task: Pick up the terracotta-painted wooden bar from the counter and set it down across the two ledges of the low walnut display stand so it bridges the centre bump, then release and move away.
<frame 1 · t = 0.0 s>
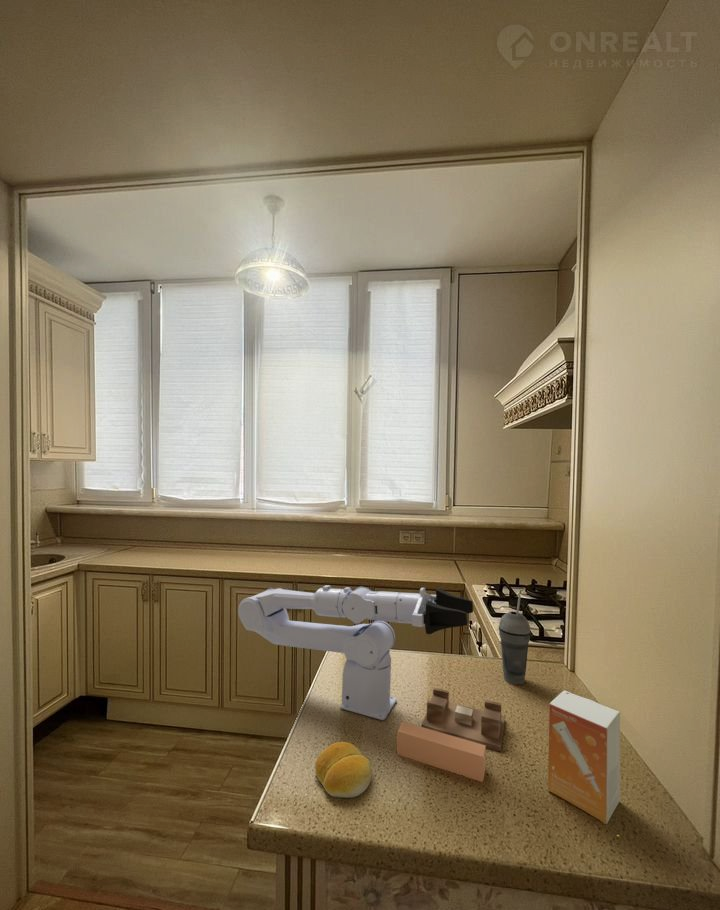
hand: (469, 612, 75), 22 cm above the counter, tool horizontal, fingers open, 7 cm apart
beverage cup: (514, 680, 94), on the counter
small box: (583, 798, 60), on the counter
bar: (440, 763, 66), on the counter
bread roll: (342, 779, 62), on the counter
stand: (463, 724, 77), on the counter
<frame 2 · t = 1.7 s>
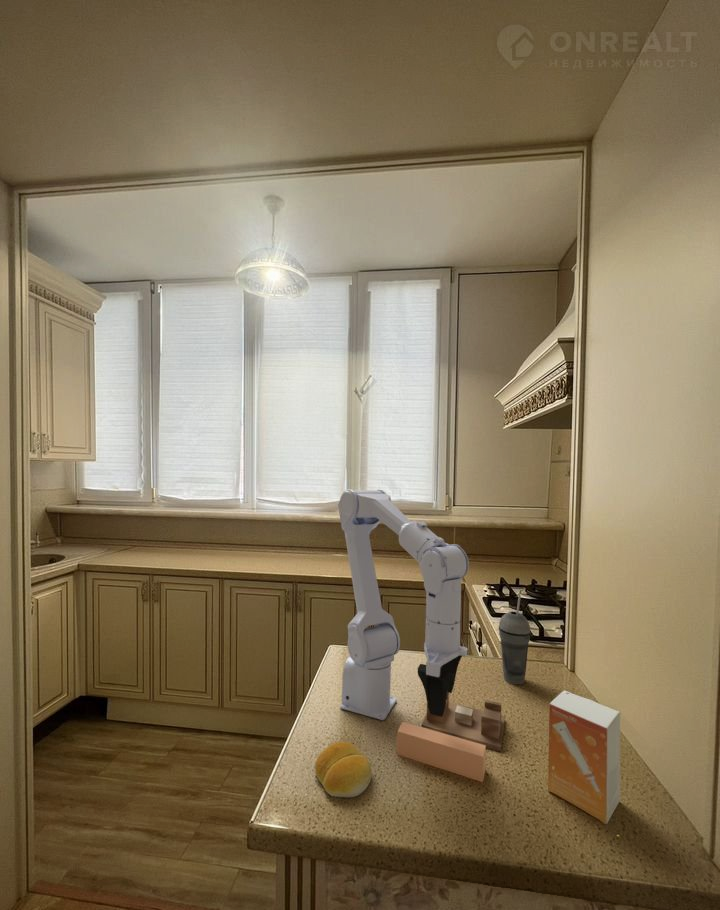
hand: (441, 702, 67), 10 cm above the counter, tool pointing down, fingers open, 7 cm apart
nothing on the counter moved.
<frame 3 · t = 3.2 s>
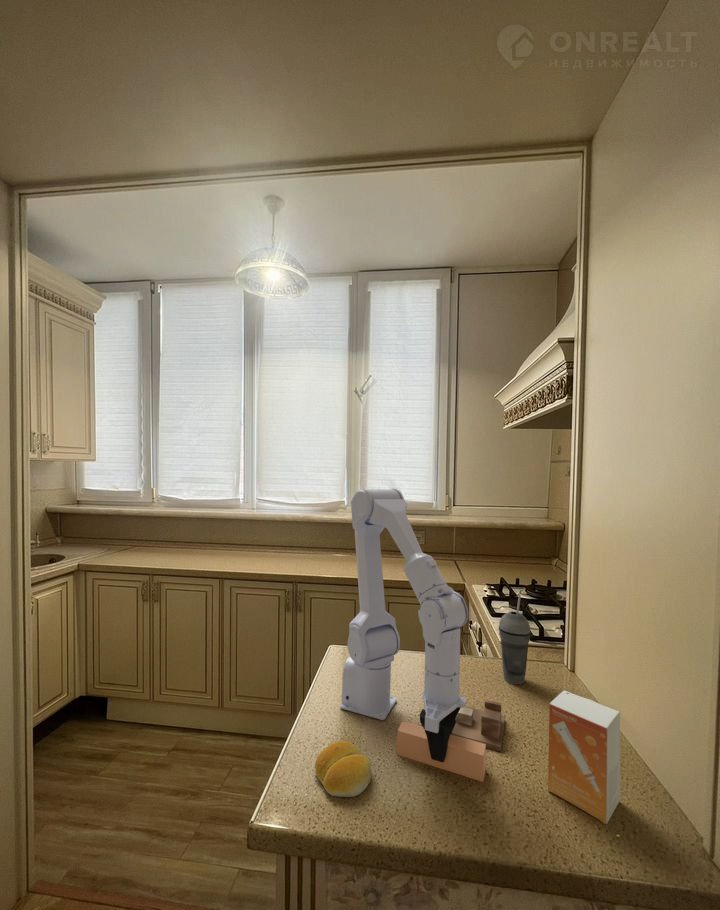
hand: (440, 752, 66), 1 cm above the counter, tool pointing down, fingers closed on bar, 3 cm apart
bar: (440, 762, 66), on the counter, touching gripper
everything else where it was.
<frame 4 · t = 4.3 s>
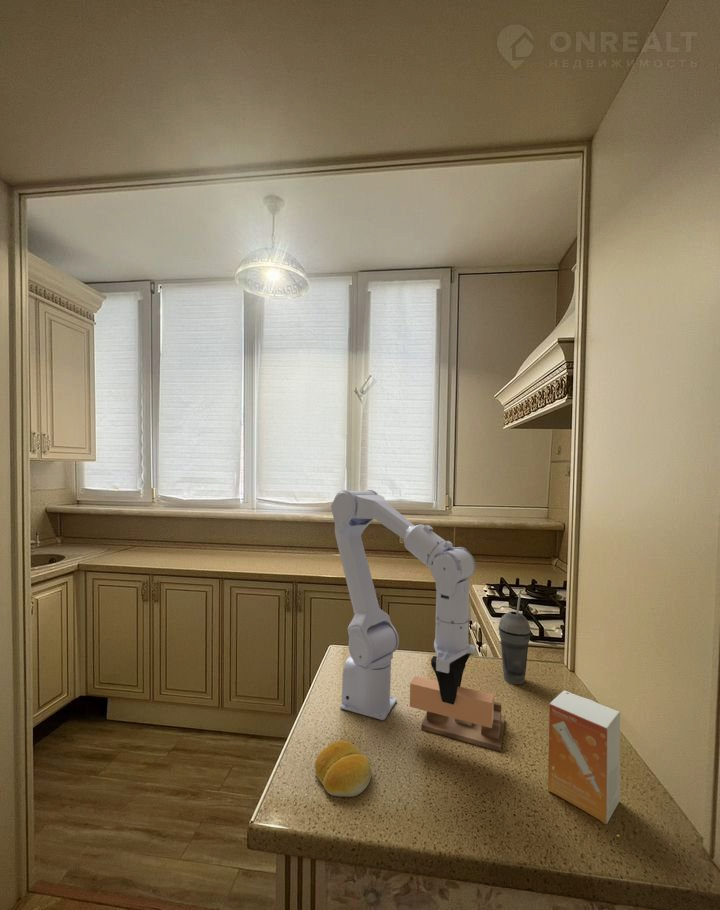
hand: (450, 697, 71), 8 cm above the counter, tool pointing down, fingers closed on bar, 3 cm apart
bar: (450, 712, 70), point 6 cm above the counter, touching gripper
everything else where it was.
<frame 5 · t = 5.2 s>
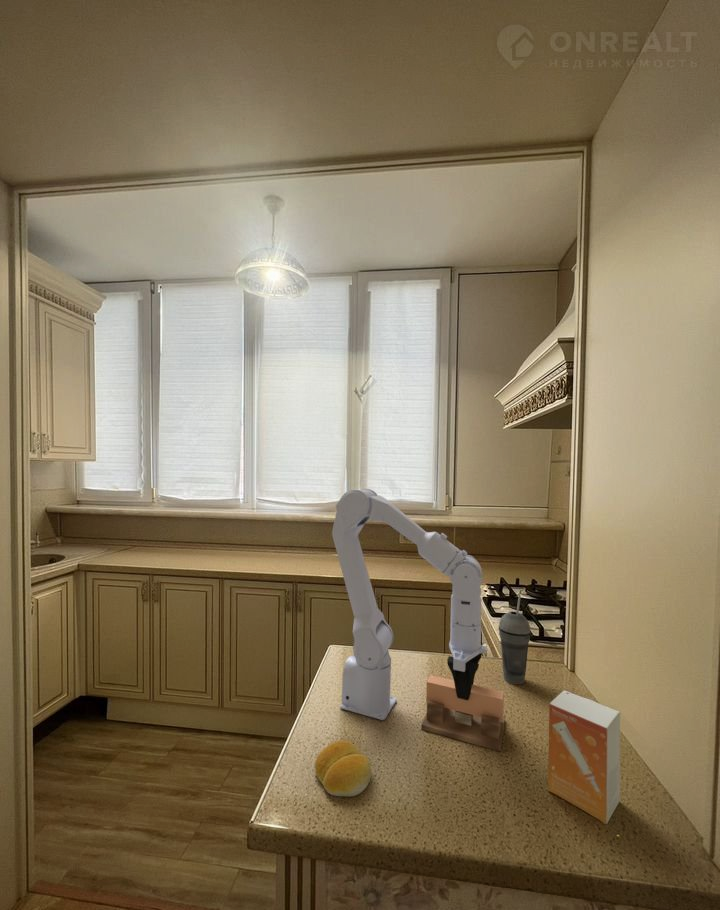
hand: (464, 693, 77), 6 cm above the counter, tool pointing down, fingers closed on bar, 3 cm apart
bar: (464, 708, 77), point 3 cm above the counter, touching gripper, stand
everything else where it was.
when the fingers open (6 cm above the counter, at t = 5.5 s): bar stays where it is, resting on stand.
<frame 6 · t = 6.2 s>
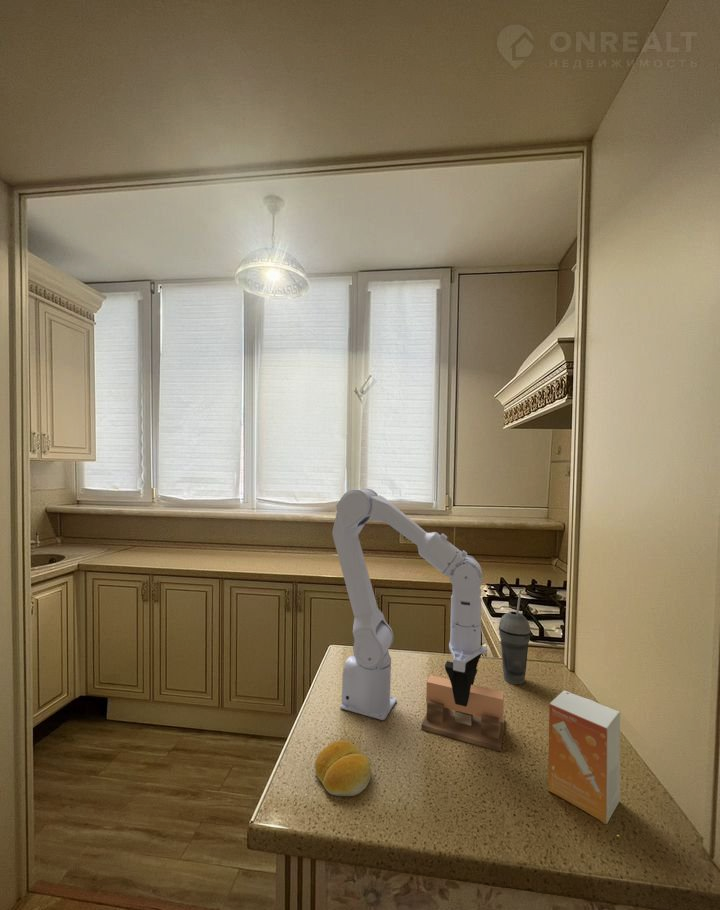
hand: (464, 694, 77), 6 cm above the counter, tool pointing down, fingers open, 7 cm apart
bar: (464, 708, 77), point 3 cm above the counter, touching stand
everything else where it was.
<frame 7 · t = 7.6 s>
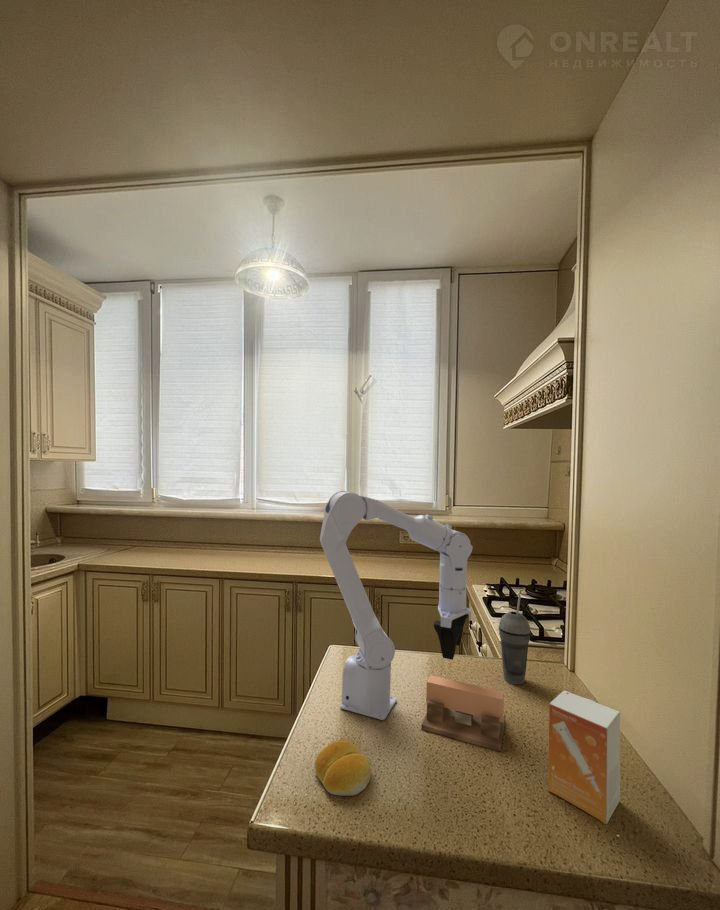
hand: (451, 651, 86), 10 cm above the counter, tool pointing down, fingers open, 7 cm apart
nothing on the counter moved.
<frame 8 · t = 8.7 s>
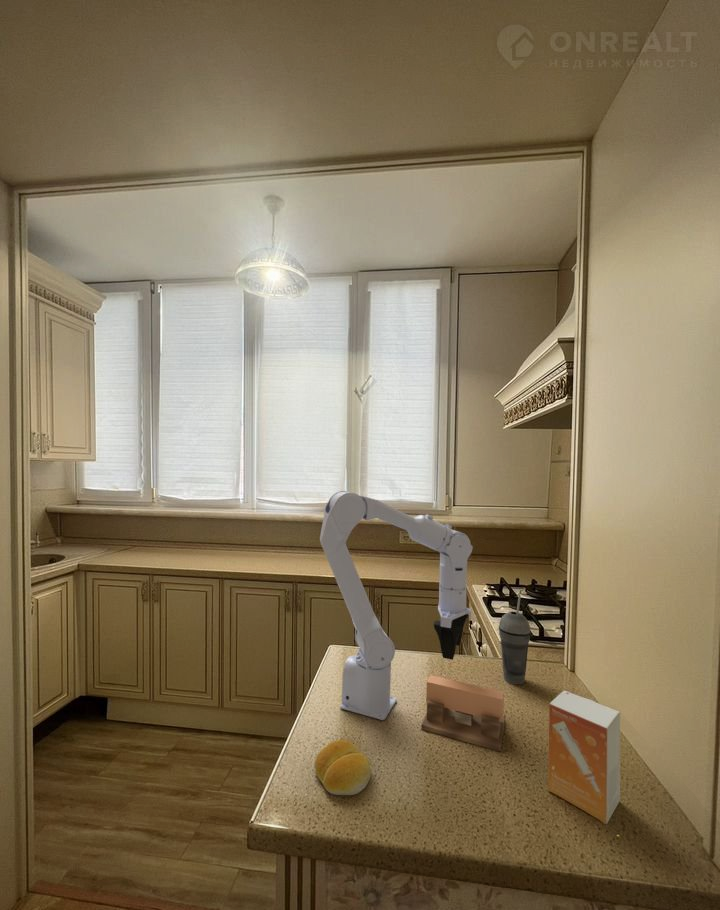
hand: (451, 651, 86), 10 cm above the counter, tool pointing down, fingers open, 7 cm apart
nothing on the counter moved.
at the end: bar 0.0 cm off-centre on the stand, point 3.0 cm above the stand's base; bar tilted 0°; the gripper is holding nothing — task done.
